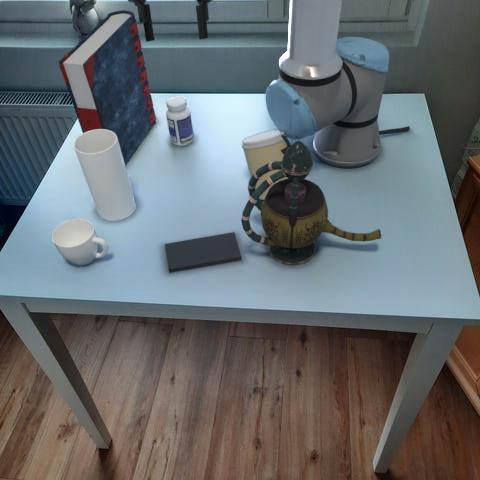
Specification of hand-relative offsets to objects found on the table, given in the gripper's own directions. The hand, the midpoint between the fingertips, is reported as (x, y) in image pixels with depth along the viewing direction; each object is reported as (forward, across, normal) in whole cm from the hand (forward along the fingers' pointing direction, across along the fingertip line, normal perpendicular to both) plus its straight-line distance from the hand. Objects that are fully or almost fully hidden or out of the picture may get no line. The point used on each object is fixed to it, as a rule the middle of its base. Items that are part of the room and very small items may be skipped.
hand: (177, 39), depth 106 cm
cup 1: (+32, +25, +9) cm, 41 cm away
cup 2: (+38, +36, +18) cm, 55 cm away
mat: (+39, +17, +31) cm, 52 cm away
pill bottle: (+21, +1, -1) cm, 21 cm away
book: (+21, +12, -8) cm, 26 cm away
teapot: (+40, 0, +43) cm, 59 cm away
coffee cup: (+31, -4, +28) cm, 42 cm away
